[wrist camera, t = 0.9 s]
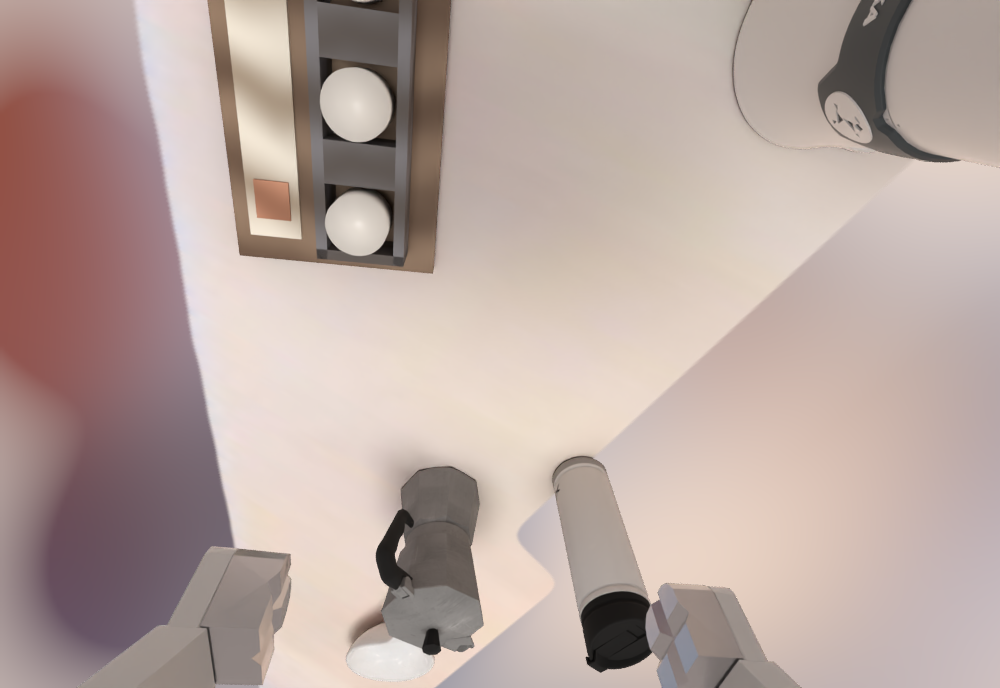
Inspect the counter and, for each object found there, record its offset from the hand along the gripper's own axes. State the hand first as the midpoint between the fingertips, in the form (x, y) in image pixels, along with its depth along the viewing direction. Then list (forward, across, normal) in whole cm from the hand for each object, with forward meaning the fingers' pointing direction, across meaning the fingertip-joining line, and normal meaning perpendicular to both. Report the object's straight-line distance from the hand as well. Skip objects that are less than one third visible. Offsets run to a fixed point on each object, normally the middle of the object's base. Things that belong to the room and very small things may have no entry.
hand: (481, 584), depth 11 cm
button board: (+36, +11, -5) cm, 38 cm away
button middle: (+33, +9, -5) cm, 34 cm away
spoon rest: (+36, 0, +57) cm, 67 cm away
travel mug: (+36, -17, +30) cm, 50 cm away
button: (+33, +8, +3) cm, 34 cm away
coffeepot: (+36, -1, +34) cm, 50 cm away
